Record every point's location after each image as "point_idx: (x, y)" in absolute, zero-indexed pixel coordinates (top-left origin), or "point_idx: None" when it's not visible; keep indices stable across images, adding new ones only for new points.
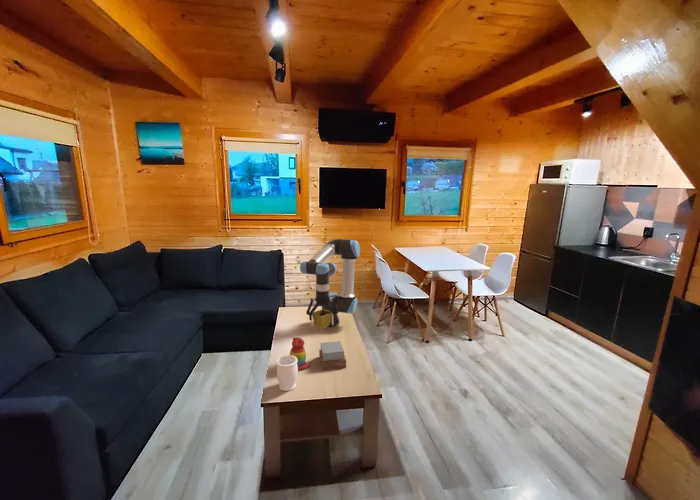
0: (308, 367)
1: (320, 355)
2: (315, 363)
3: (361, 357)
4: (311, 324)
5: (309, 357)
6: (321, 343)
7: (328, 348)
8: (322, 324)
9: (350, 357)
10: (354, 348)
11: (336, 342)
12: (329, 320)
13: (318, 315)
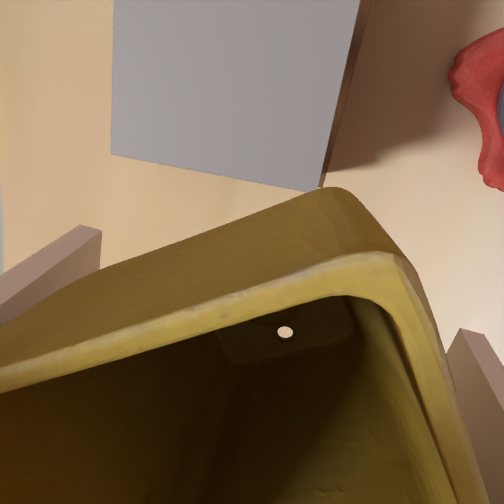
0: (472, 43)
1: (347, 91)
2: (388, 89)
3: (11, 37)
4: (494, 356)
5: (398, 195)
6: (309, 181)
7: (273, 40)
8: (317, 190)
9: (94, 71)
10: (39, 185)
11: (152, 141)
12: (104, 271)
13: (467, 436)
